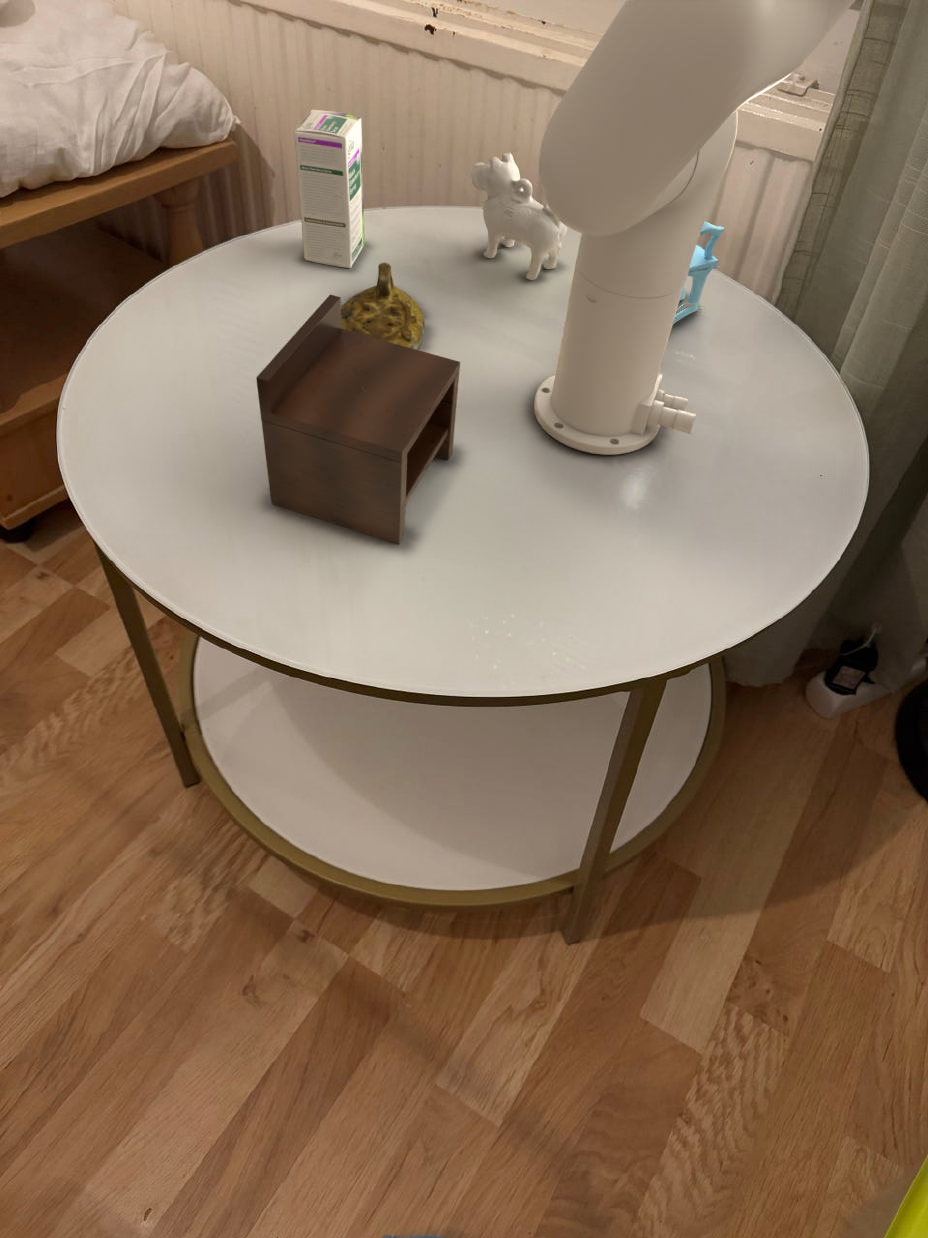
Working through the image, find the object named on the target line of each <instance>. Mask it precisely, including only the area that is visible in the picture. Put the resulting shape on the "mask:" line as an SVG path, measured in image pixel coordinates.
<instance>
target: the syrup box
mask: <svg viewBox="0 0 928 1238" xmlns="http://www.w3.org/2000/svg"><path fill="white" fill-rule="evenodd" d="M362 132H363V131H362V118H361V117H359V116H356V115H353V114H349V113H345V112H340V111H332V110H323V109H322V110H320V109H314V108H313V109H311V110H310V111H309V113H308V115H306V118H304V119H303V121H301V123H300V124H299V126H297V128H296V129H295V130H294V132H293V134H294V144H295V145H294V147H295V158H296V159H295V160H296V173H297V186H298V197H299V198H298V199H299V211H300V221H301V235H302V246H303V257H304V260H305V261H308V262H313V263H317V264H322V265H327V266H332V267H339V268H346V269H351V268H352V267H353V264H354V263H355V262H356V260H357V258H358V256H359V255H360V253H361V251H362V250H363V248H364V246H365V244H366V243H365V240H366V239H365V210H364V176H363V174H364V172H363V171H364V170H363V169H364V168H363V167H364V166H363V135H362Z"/></svg>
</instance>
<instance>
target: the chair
mask: <svg viewBox="0 0 928 1238" xmlns="http://www.w3.org/2000/svg"><path fill="white" fill-rule="evenodd" d="M724 231H725V227H724V226H717V225H714V224H712V223H711V222H709V221H706V220H705V221H704V224H703V227H702V230H701V232H700V235H699V237H700V236H701V237H702V236H707V235H708V236H712V237H711V239H710V240H709V241H708V242H707V243H706V245H705V247H704V248H703V247H702V246H700V245H699V244H698V243H697V244H696V248H695V251H694V254H693V258H692V261H691V264H690V268H689V271H688V275H687V277H691V278H692V284H691V288H690V292H689V297H688V300H687V302H689V303H692V304H693V303H694V304H695V303H698V302H699V303H698V304H696V305H694V306H691V307H688V308H686V309H684V310H682V311H680V312H679V313H677V314H676V315H675V318H674V322H673V325H674V324H676V323H678V322H679V321H680V320H682V319H683V318H685V317H686V316H687V317H688V316H689V315H690V314H692V313H694V312H696V311H698V309H699V304H700V300H701V296H702V293H703V289H704V286H705V284H706V280H707V278H708V276H709V274H710V273H711V271H712V270H713V269H717V267H718V264H719V259H718V258H717V257H715V256H714V255H713V251H714V247H715V246H716V244H717V242H718V241H719V240H720V238H721V236H722V235H723V233H724ZM685 290H686V286H685V285H684V287H683V290H682V292H683V291H685ZM685 296H686V292H685V293H682V294H681V297H680V301H682V300H684V299H685V298H686V297H685ZM684 304H685V303H683V304H682V305H680V306H678V308H677V310H678V309H679V308H680V307H681V306H683V305H684Z"/></svg>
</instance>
